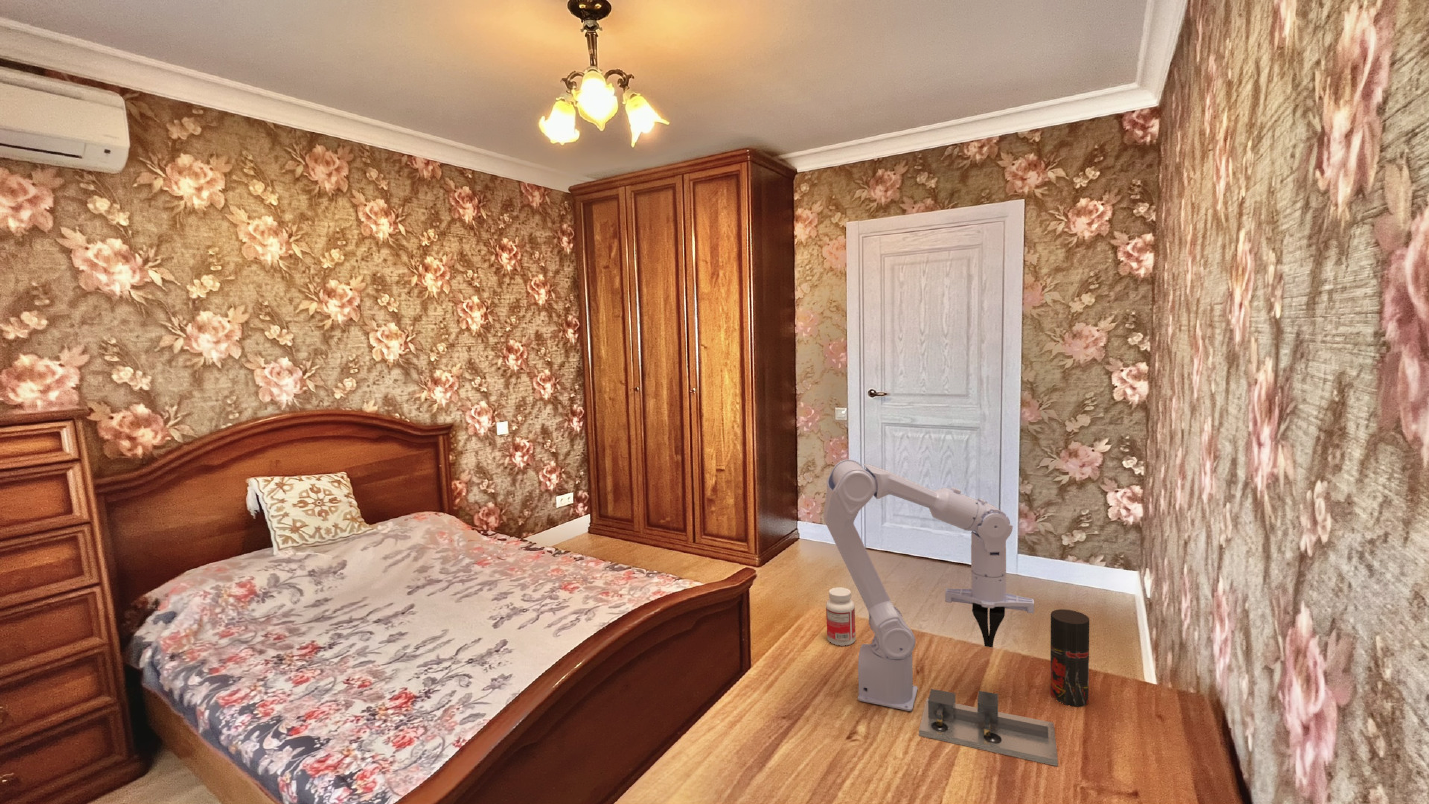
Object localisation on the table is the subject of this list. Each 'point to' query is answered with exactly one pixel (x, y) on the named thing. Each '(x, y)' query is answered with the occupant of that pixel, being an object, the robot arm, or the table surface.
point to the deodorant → (1069, 657)
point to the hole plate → (994, 736)
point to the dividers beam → (974, 715)
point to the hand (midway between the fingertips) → (988, 644)
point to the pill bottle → (840, 617)
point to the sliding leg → (987, 709)
